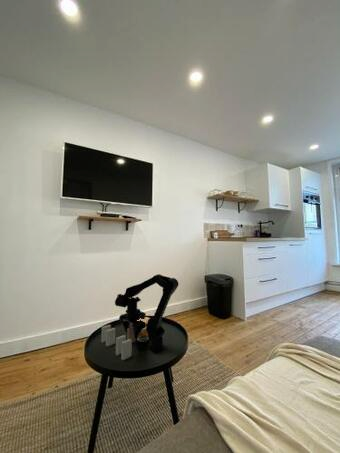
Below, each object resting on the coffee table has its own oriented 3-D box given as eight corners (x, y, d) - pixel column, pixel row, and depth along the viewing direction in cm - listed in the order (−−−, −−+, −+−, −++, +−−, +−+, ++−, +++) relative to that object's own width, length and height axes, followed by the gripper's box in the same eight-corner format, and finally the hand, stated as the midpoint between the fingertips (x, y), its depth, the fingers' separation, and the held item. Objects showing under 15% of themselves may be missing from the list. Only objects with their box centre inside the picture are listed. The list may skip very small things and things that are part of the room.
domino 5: (135, 340, 117) (136, 326, 117) (128, 343, 114) (128, 329, 114) (134, 339, 118) (134, 325, 119) (127, 342, 115) (127, 328, 115)
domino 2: (115, 343, 114) (115, 328, 115) (107, 346, 111) (107, 331, 111) (113, 342, 115) (114, 327, 116) (105, 345, 112) (106, 330, 112)
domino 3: (125, 351, 106) (125, 336, 107) (117, 355, 103) (117, 339, 103) (124, 350, 107) (124, 334, 108) (115, 354, 104) (116, 338, 104)
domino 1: (110, 339, 118) (110, 325, 119) (102, 342, 115) (102, 328, 115) (109, 338, 119) (109, 324, 120) (101, 341, 116) (101, 327, 116)
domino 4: (131, 356, 102) (131, 340, 103) (122, 360, 99) (123, 343, 99) (129, 354, 103) (130, 338, 104) (121, 358, 100) (121, 342, 100)
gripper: (153, 309, 116) (153, 337, 115) (134, 301, 129) (134, 326, 128) (136, 314, 108) (136, 344, 107) (119, 305, 121) (118, 332, 121)
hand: (131, 336), depth 116 cm, fingers open, 9 cm apart
